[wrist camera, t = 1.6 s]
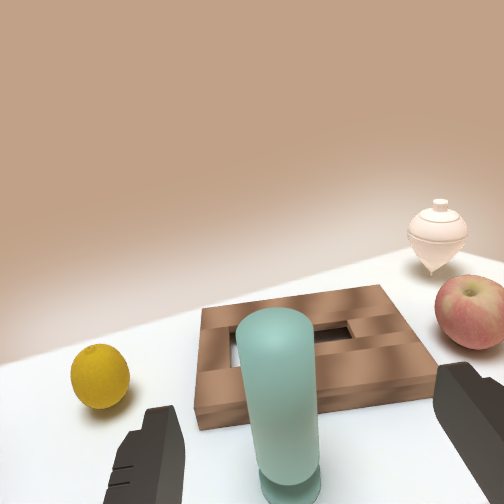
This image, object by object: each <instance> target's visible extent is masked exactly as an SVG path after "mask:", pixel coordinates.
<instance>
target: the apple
mask: <svg viewBox="0 0 504 504" xmlns="http://www.w3.org/2000/svg"><path fill="white" fill-rule="evenodd" d="M435 314H436V318H437V321H438V323H439V325H440V327H441V328H442V330H443V331H444V332H445V333H446V334H447V335H448V336H449V337H450V338H451V339H452V340H454V341H455V342H456V343H458V344H459V345H461V346H464V347H467V348H470V349H477V350H480V349H487V348H490V347H492V346H495V345H497V344H498V343H500V342H501V341H503V340H504V288H503V287H502V286H501V285H500V284H498V283H496V282H494V281H492V280H490V279H487V278H485V277H481V276H476V275H462V276H457V277H454V278H452V279H450V280H448V281H447V282H446V283H445V284H444V285H443V286H442V287H441V288H440V290H439V292H438V294H437V296H436V300H435Z"/></svg>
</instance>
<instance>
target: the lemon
mask: <svg viewBox="0 0 504 504" xmlns="http://www.w3.org/2000/svg"><path fill="white" fill-rule="evenodd" d="M129 381H130V373H129V369H128V366H127V363H126V361H125V359H124V358H123V356H122V355H121V354H120V353H119V351H118V350H117V349H115V348H114V347H112V346H110V345H106V344H95V345H91V346H89V347H87V348H85V349H84V350H82V351H81V352H80V353H79V354H78V355H77V356H76V358H75V359H74V361H73V363H72V366H71V382H72V386H73V389H74V392H75V394H76V396H77V397H78V398H79V399H80V401H81V402H82V403H83V404H85V405H86V406H89V407H91V408H96V409H104V408H108V407H111V406H113V405H115V404H116V403H118V402H119V401H120V400H121V399H122V398H123V396H124V395H125V393H126V392H127V389H128V387H129Z"/></svg>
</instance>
